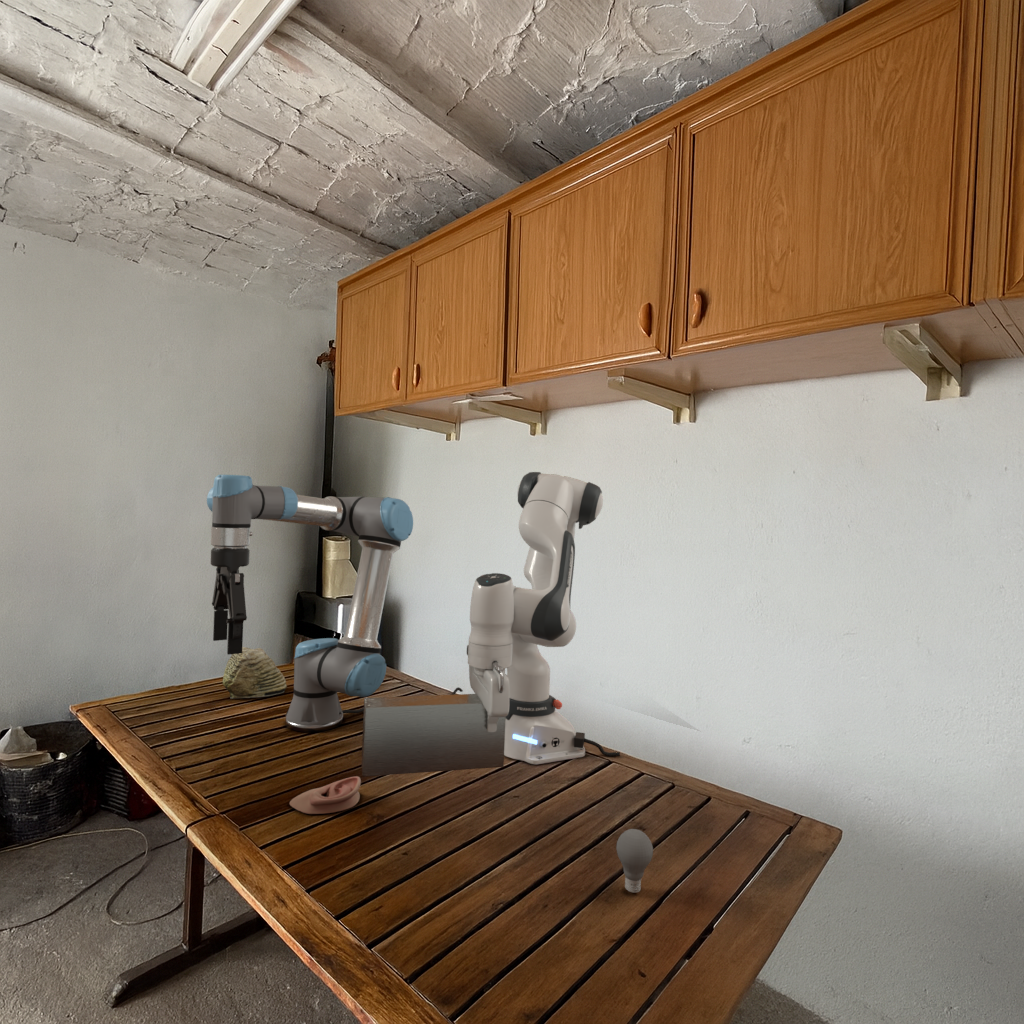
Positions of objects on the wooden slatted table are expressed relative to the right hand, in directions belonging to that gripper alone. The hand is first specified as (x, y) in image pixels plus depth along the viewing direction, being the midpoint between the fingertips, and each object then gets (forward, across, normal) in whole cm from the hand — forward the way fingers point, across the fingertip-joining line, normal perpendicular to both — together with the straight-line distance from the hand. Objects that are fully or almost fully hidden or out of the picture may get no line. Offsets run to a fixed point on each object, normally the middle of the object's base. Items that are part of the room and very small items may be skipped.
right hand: (487, 724), depth 127 cm
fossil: (+19, +88, +54) cm, 105 cm away
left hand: (-11, +23, +52) cm, 58 cm away
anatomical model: (+19, +12, +31) cm, 38 cm away
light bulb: (+19, -28, -20) cm, 39 cm away
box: (+8, 0, +11) cm, 13 cm away
